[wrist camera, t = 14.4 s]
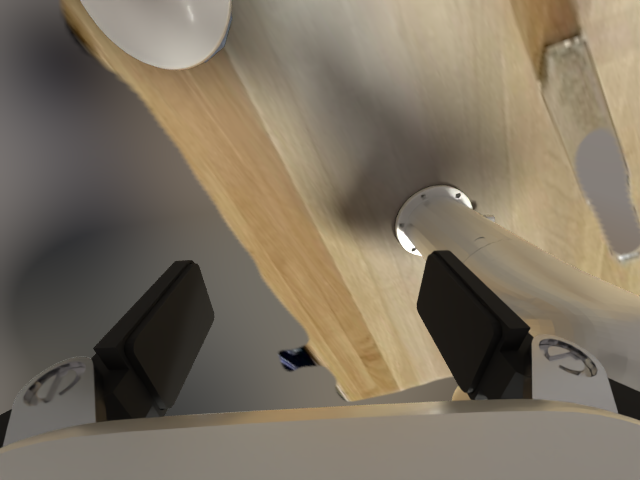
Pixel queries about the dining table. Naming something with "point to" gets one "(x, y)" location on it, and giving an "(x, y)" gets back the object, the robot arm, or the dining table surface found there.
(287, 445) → the robot arm
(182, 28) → the lid
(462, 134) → the dining table surface
